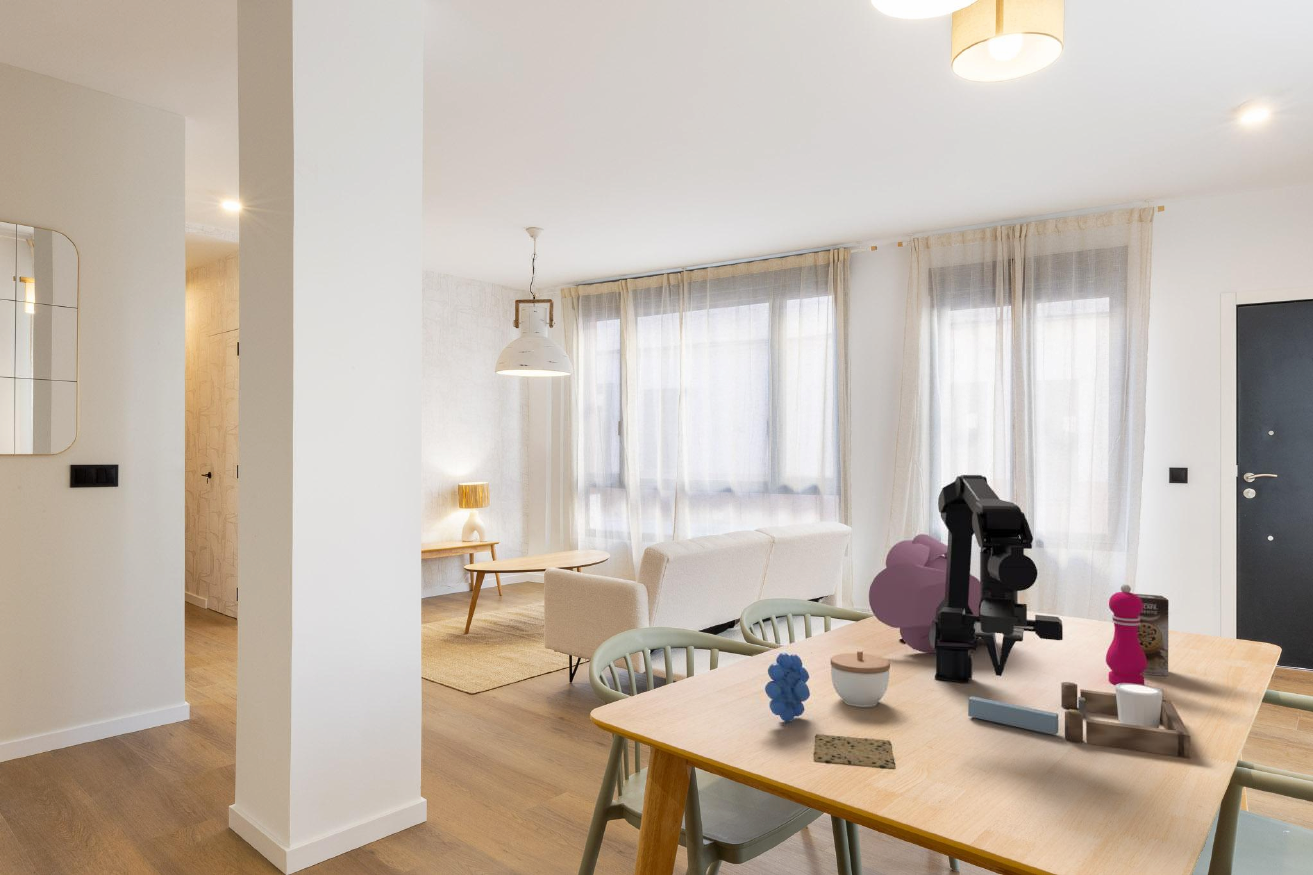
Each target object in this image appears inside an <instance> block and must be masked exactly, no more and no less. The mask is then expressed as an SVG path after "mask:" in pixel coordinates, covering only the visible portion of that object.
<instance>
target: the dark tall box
mask: <svg viewBox="0 0 1313 875" xmlns="http://www.w3.org/2000/svg"><path fill="white" fill-rule="evenodd" d="M1118 592H1119V591H1118ZM1118 592H1115V593H1118ZM1134 594H1135V595H1137V596H1138V597H1139V598H1140V599H1141V600H1142V603H1143V610H1142V612H1141V613H1140V614H1139V616H1138V617H1139V618H1140V620H1139V621H1140V625H1138V631H1137V632H1138V640H1139V643H1140V645H1141V648H1142V650H1143V652H1144V654H1145V656H1146V660H1147V668H1146V670H1145V671H1144V672H1142V673H1141V674H1145V675H1154V676H1165V677H1168V676H1169V599H1167V598H1166V597H1164V596H1163V595H1156V594H1142V593H1134Z"/></svg>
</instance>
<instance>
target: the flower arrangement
mask: <svg viewBox="0 0 1313 875" xmlns="http://www.w3.org/2000/svg"><path fill="white" fill-rule="evenodd" d="M947 547H948V545H947V544H945V543H943V542H941V541H939V540H938V539H937V538H934V537H933V536H931V535H928V534H924V533H921V534H917V535H916V536H915V537H914V538H913V539H912V540H911V539H910V540H908V539H907V540H901V541H899V542H897V543H896V544H894V545H893V546H892V547H891V548H890V550H889V551H888V553H887V554H886V559H885V568H884V569H883V570H881V571H880V572H879V573H878V574H877V575H876V576H875V577H874V578H873V580H872V582H871V584H870V586H869V591H868V602H869V606H870V609H871V611H872V614H873V615H874V616H875V618H876V619H877V620H878V621H879V622H880V623H883V625H886V626H889V627H890V628H893V629H894V628H895V629H899V634H900V637H898V639H899V640H903V641H904V642H905V643H906V645H907V646H909V647H910V648H912V649H913V650H915V651H919V652H920V653H926V654H927V653H931V654H933V653H934V654H936V649H934V648H933V647H932V646H931V645H930V640H929V633H930V629H931V625H932V621H933V619H935V616H936V608H937V607H938V606H939V604H940V603H941V602H942V601H943V600H944V598H945V586H946V567H947ZM979 603H980V579H978V578H977V577H976V576H974V575H972V573H970V584H969V601H968V605H969V607H970V609H971V611H972V612H973V614H974V615H979ZM938 641H939V640H938Z"/></svg>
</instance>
